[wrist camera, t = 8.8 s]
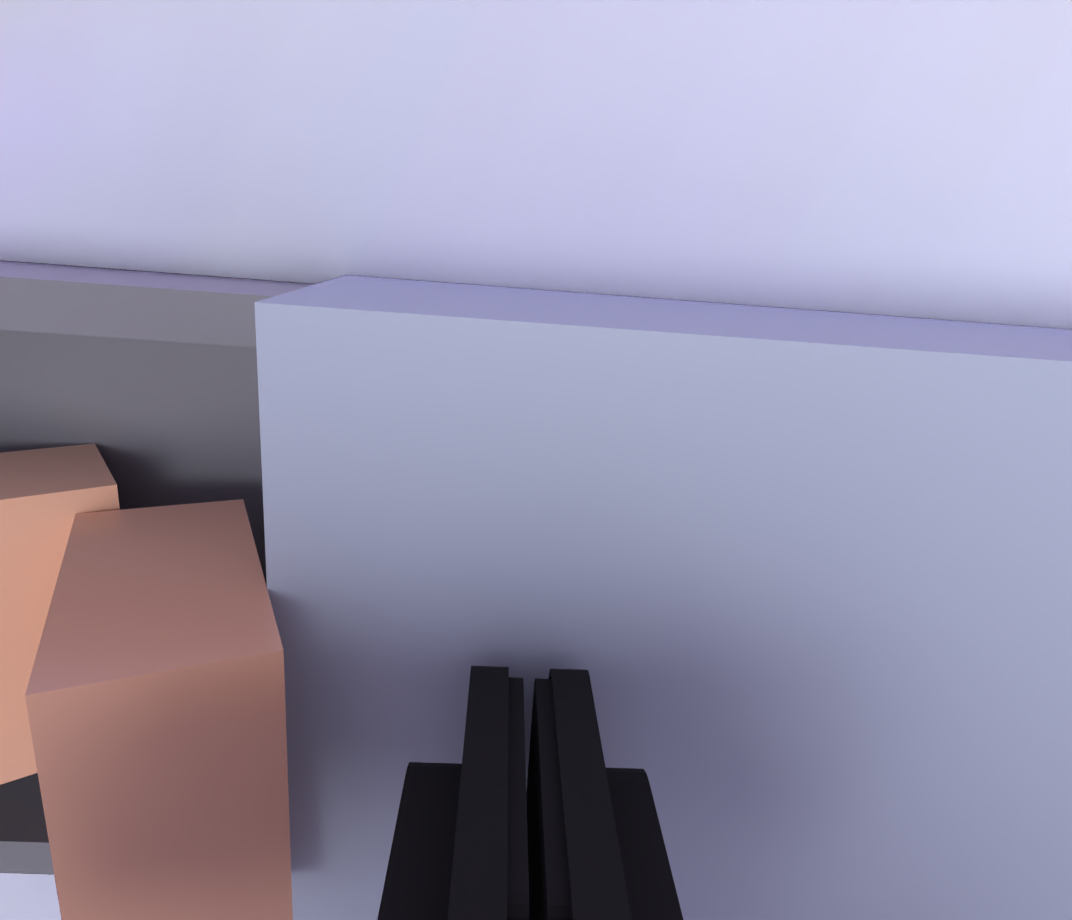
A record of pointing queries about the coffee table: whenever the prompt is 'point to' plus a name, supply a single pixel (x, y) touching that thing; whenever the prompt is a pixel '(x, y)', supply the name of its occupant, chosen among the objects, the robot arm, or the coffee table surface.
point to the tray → (130, 411)
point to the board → (684, 581)
